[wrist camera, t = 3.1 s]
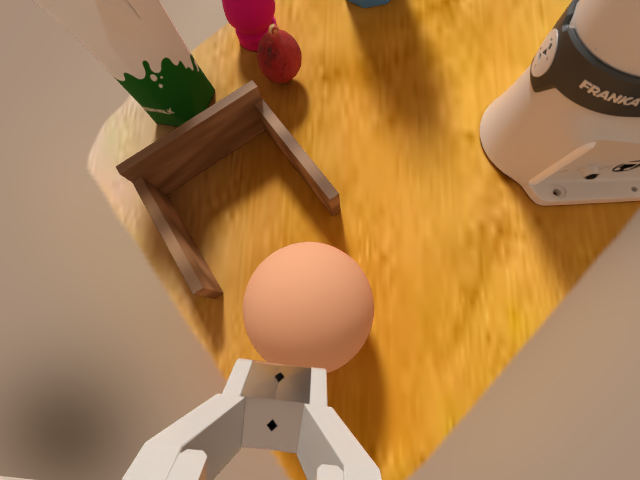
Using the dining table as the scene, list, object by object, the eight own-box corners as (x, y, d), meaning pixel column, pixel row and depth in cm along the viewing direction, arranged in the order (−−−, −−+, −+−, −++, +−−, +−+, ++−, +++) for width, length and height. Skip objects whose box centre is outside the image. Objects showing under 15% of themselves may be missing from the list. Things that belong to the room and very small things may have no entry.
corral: (340, 210, 36) (338, 185, 30) (214, 298, 35) (182, 292, 28) (268, 119, 41) (252, 79, 35) (155, 193, 40) (115, 166, 33)
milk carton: (222, 86, 44) (123, -100, 25) (202, 137, 42) (74, -23, 22) (170, 79, 45) (38, -102, 26) (148, 128, 43) (-15, -29, 24)
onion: (293, 101, 42) (280, 50, 34) (259, 89, 43) (239, 38, 35) (311, 70, 43) (303, 14, 35) (277, 59, 44) (262, 4, 36)
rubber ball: (376, 265, 34) (388, 235, 22) (362, 376, 31) (368, 407, 19) (276, 250, 36) (241, 215, 24) (253, 354, 33) (200, 370, 21)
